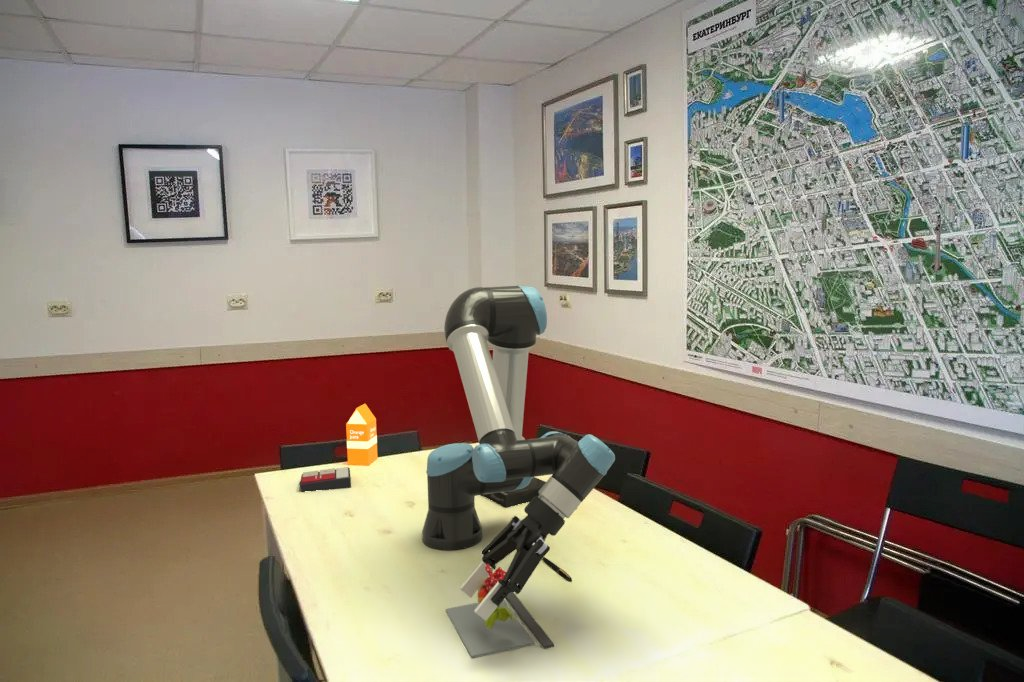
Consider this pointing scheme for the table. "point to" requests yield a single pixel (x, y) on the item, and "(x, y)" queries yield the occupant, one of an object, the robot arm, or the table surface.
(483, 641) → the mat
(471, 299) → the robot arm
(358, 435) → the orange juice
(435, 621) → the table surface
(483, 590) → the bird rattle
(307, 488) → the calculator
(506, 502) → the black flat box
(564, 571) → the fountain pen
